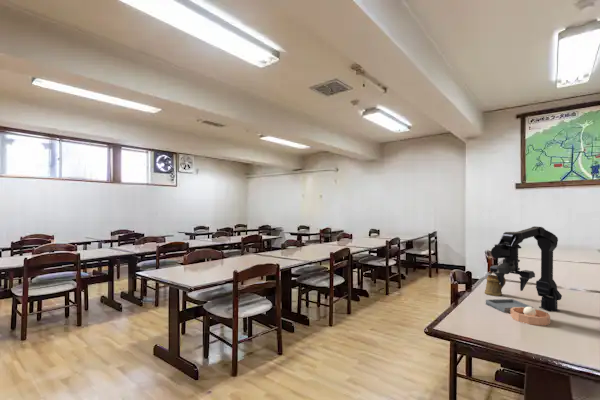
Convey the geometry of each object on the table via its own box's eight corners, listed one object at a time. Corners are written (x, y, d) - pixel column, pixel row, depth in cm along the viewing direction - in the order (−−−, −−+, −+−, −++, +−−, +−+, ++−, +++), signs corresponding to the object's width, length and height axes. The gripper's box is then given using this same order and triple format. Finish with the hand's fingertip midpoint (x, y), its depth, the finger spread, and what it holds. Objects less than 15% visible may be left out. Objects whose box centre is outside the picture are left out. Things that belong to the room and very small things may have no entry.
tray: (512, 303, 179) (512, 299, 179) (533, 311, 165) (533, 307, 165) (485, 304, 177) (485, 299, 177) (504, 312, 163) (504, 307, 163)
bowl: (531, 313, 162) (531, 306, 162) (558, 324, 147) (558, 317, 147) (503, 314, 160) (503, 307, 160) (528, 325, 145) (528, 318, 145)
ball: (530, 315, 156) (530, 305, 156) (538, 319, 151) (538, 308, 151) (520, 315, 156) (520, 305, 156) (529, 319, 151) (529, 308, 151)
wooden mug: (506, 298, 188) (506, 268, 188) (482, 293, 198) (482, 264, 199) (512, 296, 193) (512, 266, 194) (488, 291, 204) (488, 263, 204)
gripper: (483, 256, 166) (483, 286, 166) (522, 261, 149) (522, 295, 149) (496, 254, 171) (496, 283, 171) (535, 259, 154) (535, 292, 154)
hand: (511, 288), depth 161 cm, fingers open, 9 cm apart
